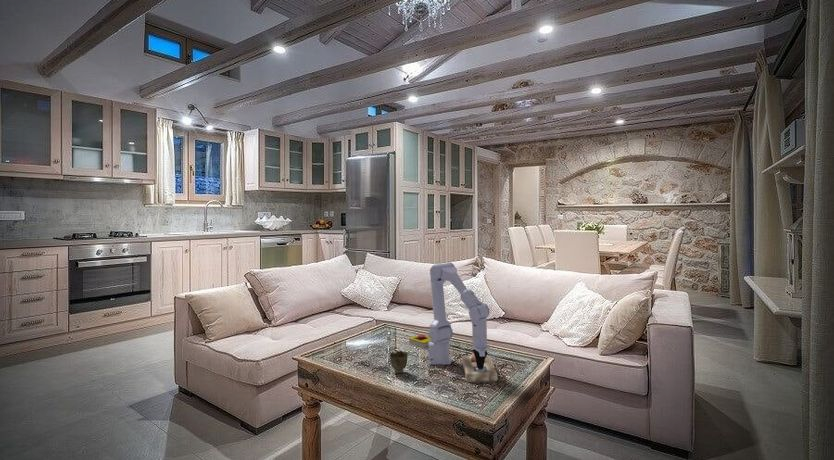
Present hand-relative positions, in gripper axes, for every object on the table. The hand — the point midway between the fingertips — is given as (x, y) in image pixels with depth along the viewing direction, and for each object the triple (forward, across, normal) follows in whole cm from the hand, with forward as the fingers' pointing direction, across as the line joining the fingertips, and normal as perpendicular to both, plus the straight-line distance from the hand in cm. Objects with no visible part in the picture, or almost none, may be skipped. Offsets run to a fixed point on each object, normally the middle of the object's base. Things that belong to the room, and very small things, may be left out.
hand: (480, 368), depth 159 cm
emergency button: (+4, +42, +24) cm, 49 cm away
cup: (+3, +5, +33) cm, 34 cm away
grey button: (+3, 0, 0) cm, 3 cm away
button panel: (+3, +5, 0) cm, 6 cm away
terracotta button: (+1, +10, 0) cm, 10 cm away
